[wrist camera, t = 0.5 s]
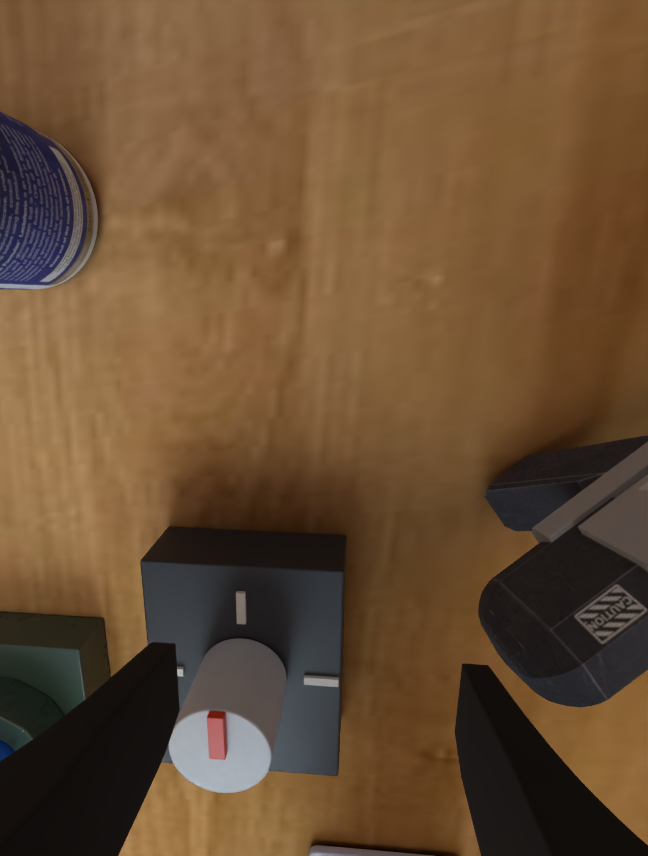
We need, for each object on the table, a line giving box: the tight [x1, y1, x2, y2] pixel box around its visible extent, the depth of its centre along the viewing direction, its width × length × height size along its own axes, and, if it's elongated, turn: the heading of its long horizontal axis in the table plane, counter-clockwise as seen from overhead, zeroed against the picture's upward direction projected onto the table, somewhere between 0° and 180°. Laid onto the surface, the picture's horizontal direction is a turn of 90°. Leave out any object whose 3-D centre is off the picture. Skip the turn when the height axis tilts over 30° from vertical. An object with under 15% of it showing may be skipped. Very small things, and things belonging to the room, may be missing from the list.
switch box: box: [0, 612, 110, 751], centre depth 24 cm, size 10×8×4 cm
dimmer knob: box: [169, 638, 287, 793], centre depth 19 cm, size 4×4×4 cm
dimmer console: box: [140, 527, 346, 776], centre depth 22 cm, size 10×8×3 cm
